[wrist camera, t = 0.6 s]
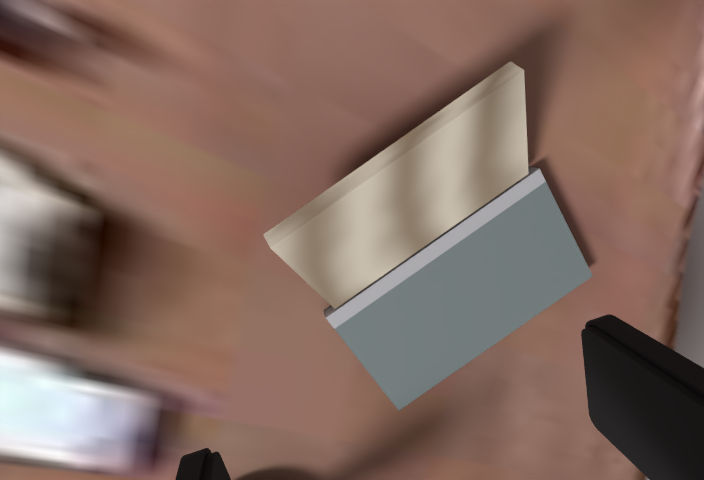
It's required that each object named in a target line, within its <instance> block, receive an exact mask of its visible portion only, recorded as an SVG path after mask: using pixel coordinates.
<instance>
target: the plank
mask: <svg viewBox="0 0 704 480" xmlns="http://www.w3.org/2000/svg"><path fill="white" fill-rule="evenodd" d="M527 174H529V172H528V149H527V125H526V102H525V78H524V70H523V69H522V68H520V67H519V66H517V65H515V64H514V63H512V62H511V61H510V62H509V63H507V64H506V65H504V66H503V67H501V68H500V69H499V70H497V71H496V72H494V73H493V74H491V75H490V76H489V77H487V78H486V79H484V80H483V81H481V82H480V83H479V84H477V85H476V86H474V87H473V88H471V89H470V90H469V91H467V92H466V93H464V94H463V95H462V96H460V97H459V98H457V99H456V100H454V101H453V102H452V103H450V104H449V105H447V106H446V107H444V108H443V109H442V110H440V111H439V112H437V113H436V114H434V115H433V116H432V117H430V118H429V119H427V120H426V121H424V122H423V123H422V124H420V125H419V126H417V127H416V128H414V129H413V130H412V131H410V132H409V133H407V134H406V135H405V136H403V137H402V138H400V139H399V140H397V141H396V142H395V143H393V144H392V145H390V146H389V147H387V148H386V149H385V150H383V151H382V152H380V153H379V154H377V155H376V156H375V157H373V158H372V159H370V160H369V161H367V162H366V163H365V164H363V165H362V166H360V167H359V168H357V169H356V170H355V171H353V172H352V173H350V174H349V175H348V176H346V177H345V178H343V179H342V180H340V181H339V182H338V183H336V184H335V185H333V186H332V187H330V188H329V189H328V190H326V191H325V192H323V193H322V194H320V195H319V196H318V197H316V198H315V199H313V200H312V201H310V202H309V203H308V204H306V205H305V206H303V207H302V208H300V209H299V210H298V211H296V212H295V213H293V214H292V215H291V216H289V217H288V218H286V219H285V220H283V221H282V222H281V223H279V224H278V225H276V226H275V227H273V228H272V229H271V230H269V231H268V232H266V233H265V234H263V235H264V237H265V239H266V241H267V243H268V245H269V246H270V248H271V249H272V250H273V251H274V252H275V253H276V254H277V255H278V256H279V257H280V258H281V259H282V260H284V261H285V262H286V263H287V264H288V265H289V266H290V267H291V268H292V269H293V270H294V271H295V272H296V273H297V274H298V275H299V276H300V277H302V278H303V279H304V280H305V281H306V282H307V283H308V284H309V285H310V286H311V287H312V288H313V289H314V290H315V291H316V292H317V293H319V294H320V295H321V296H322V297H323V298H324V299H325V300H326V301H327V302H328V303H329V304H330V305H331V306H332V307H333V308H334V309H336V308H337V307H338V306H340V305H341V304H343V303H344V302H346V301H347V300H348V299H350V298H351V297H353V296H354V295H356V294H357V293H359V292H360V291H361V290H363V289H364V288H366V287H367V286H369V285H370V284H371V283H373V282H374V281H376V280H377V279H379V278H380V277H381V276H383V275H384V274H386V273H387V272H389V271H390V270H391V269H393V268H394V267H396V266H397V265H399V264H400V263H401V262H403V261H404V260H406V259H407V258H409V257H410V256H411V255H413V254H414V253H416V252H417V251H419V250H420V249H422V248H423V247H424V246H426V245H427V244H429V243H430V242H432V241H433V240H434V239H436V238H437V237H439V236H440V235H442V234H443V233H444V232H446V231H447V230H449V229H450V228H452V227H453V226H454V225H456V224H457V223H459V222H460V221H462V220H463V219H464V218H466V217H467V216H469V215H470V214H472V213H473V212H474V211H476V210H477V209H479V208H480V207H482V206H483V205H485V204H486V203H487V202H489V201H490V200H492V199H493V198H495V197H496V196H497V195H499V194H500V193H502V192H503V191H505V190H506V189H507V188H509V187H510V186H512V185H513V184H515V183H516V182H517V181H519V180H520V179H522V178H523V177H525V176H526V175H527Z"/></svg>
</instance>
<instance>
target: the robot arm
mask: <svg viewBox="0 0 704 480" xmlns="http://www.w3.org/2000/svg"><path fill="white" fill-rule="evenodd" d="M581 336H582V346H583V356H584V367H585V377H586V387H587V397H588V408H589V415H590V418H591V421H592V422H593V424H594V426H595V427H596V428H597V429H598V430H599V431H600V432H601V433H602V434H603V435H604V436H605V437H606V438H607V439H608V440H609V441H610V442H611V443H612V444H613V445H614V446H615V447H616V448H617V449H618V450H619V451H621V452H622V453H623V454H624V455H625V456H626V457H627V458H628V459H629V460H630V461H631V462H632V463H633V464H634V465H635V466H636V467H637V468H638V469H639V470H640V471H641V472H642V473H643V474H644V475H646V476H647V477H648V478H649V479H650V480H704V368H702V367H701V366H699V365H697V364H696V363H694V362H692V361H690V360H689V359H687V358H685V357H684V356H682V355H680V354H679V353H677V352H675V351H673V350H672V349H670V348H668V347H667V346H665V345H663V344H661V343H660V342H658V341H656V340H655V339H653V338H651V337H649V336H648V335H646V334H644V333H643V332H641V331H639V330H637V329H636V328H634V327H632V326H631V325H629V324H627V323H626V322H624V321H622V320H620V319H619V318H617V317H615V316H613V315H605V316H602V317H599V318H596V319H593V320H590V321H588V322H587V323H586V325H585V329H583V330H582V333H581ZM176 480H231V479H230V476H229V474H228V472H227V469H226V467H225V465H224V462H223V460H222V458H221V456H220V454H219V452H214V453H211V451H210V450H209V449H208V448H205V449H202V450H199V451H196V452H193V453H190V454H187V455H184V456H183V457H182V458H181V461H180V465H179V468H178V472H177V476H176Z"/></svg>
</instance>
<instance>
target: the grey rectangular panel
mask: <svg viewBox="0 0 704 480" xmlns="http://www.w3.org/2000/svg"><path fill="white" fill-rule="evenodd" d="M528 172H529V174H527V175H526V176H525V177H523V178H522V179H520V180H519V181H517V182H516V183H515V184H513V185H512V186H510V187H509V188H507V189H506V190H505V191H503V192H502V193H500V194H499V195H497V196H496V197H495V198H493V199H492V200H490V201H489V202H487V203H486V204H485V205H483V206H482V207H480V208H479V209H477V210H476V211H474V212H473V213H472V214H470V215H469V216H467V217H466V218H464V219H463V220H462V221H460V222H459V223H457V224H456V225H454V226H453V227H452V228H450V229H449V230H447V231H446V232H444V233H443V234H442V235H440V236H439V237H437V238H436V239H434V240H433V241H432V242H430V243H429V244H427V245H426V246H424V247H423V248H422V249H420V250H419V251H417V252H416V253H414V254H413V255H411V256H410V257H409V258H407V259H406V260H404V261H403V262H401V263H400V264H399V265H397V266H396V267H394V268H393V269H391V270H390V271H389V272H387V273H386V274H384V275H383V276H381V277H380V278H379V279H377V280H376V281H374V282H373V283H371V284H370V285H369V286H367V287H366V288H364V289H363V290H361V291H360V292H359V293H357V294H356V295H354V296H353V297H351V298H350V299H348V300H347V301H346V302H344V303H343V304H341V305H340V306H338V307H337V308H336V309H334V308H333V307H332V306H330V307H328V308H327V309H326V310H324V313H325V317H326V319H327V320H328V321H329V323H330V324H331V325H332V326H333V328H334V329H335V330H336V331H337V333H338V334H339V335H340V337H341V338H342V339H343V340H344V342H345V343H346V344H347V345H348V347H349V348H350V349H351V350H352V352H353V353H354V354H355V356H356V357H357V358H358V359H359V361H360V362H361V363H362V364H363V366H364V367H365V368H366V370H367V371H368V372H369V373H370V375H371V376H372V377H373V378H374V380H375V381H376V382H377V384H378V385H379V386H380V387H381V389H382V390H383V391H384V392H385V394H386V395H387V396H388V398H389V399H390V400H391V401H392V403H393V404H394V405H395V406H396V408H397V409H398V410H401V409H402V408H403V407H405V406H406V405H408V404H409V403H411V402H412V401H414V400H415V399H416V398H418V397H419V396H421V395H422V394H424V393H425V392H426V391H428V390H429V389H431V388H432V387H434V386H435V385H437V384H438V383H439V382H441V381H442V380H444V379H445V378H447V377H448V376H450V375H451V374H452V373H454V372H455V371H457V370H458V369H460V368H461V367H462V366H464V365H465V364H467V363H468V362H470V361H471V360H473V359H474V358H475V357H477V356H478V355H480V354H481V353H483V352H484V351H486V350H487V349H488V348H490V347H491V346H493V345H494V344H496V343H497V342H498V341H500V340H501V339H503V338H504V337H506V336H507V335H509V334H510V333H511V332H513V331H514V330H516V329H517V328H519V327H520V326H522V325H523V324H524V323H526V322H527V321H529V320H530V319H532V318H533V317H534V316H536V315H537V314H539V313H540V312H542V311H543V310H545V309H546V308H547V307H549V306H550V305H552V304H553V303H555V302H556V301H558V300H559V299H560V298H562V297H563V296H565V295H566V294H568V293H569V292H570V291H572V290H573V289H575V288H576V287H578V286H579V285H581V284H582V283H583V282H585V281H586V280H588V279H589V278H591V277H592V276H593V275H592V273H591V271H590V269H589V267H588V265H587V263H586V261H585V259H584V257H583V255H582V253H581V251H580V249H579V247H578V245H577V243H576V241H575V239H574V237H573V235H572V233H571V231H570V229H569V227H568V225H567V223H566V221H565V219H564V217H563V215H562V213H561V211H560V209H559V207H558V205H557V203H556V201H555V199H554V197H553V195H552V193H551V191H550V189H549V187H548V185H547V183H546V181H545V179H544V177H543V175H542V172H541V170H540V169H539V168H534V167H529V168H528Z"/></svg>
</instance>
